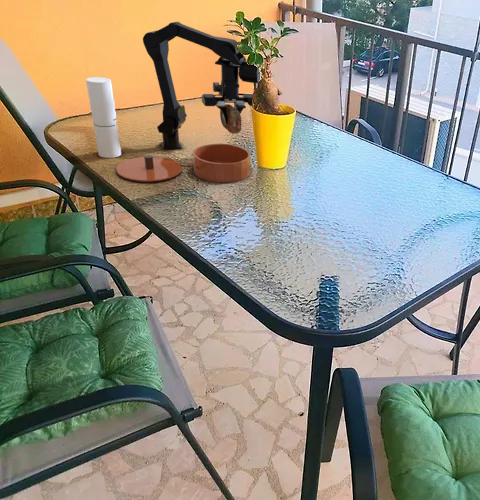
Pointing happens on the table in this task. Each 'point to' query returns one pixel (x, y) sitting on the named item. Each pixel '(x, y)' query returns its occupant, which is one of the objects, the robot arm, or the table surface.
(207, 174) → the pot
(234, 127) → the tin
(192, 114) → the table surface
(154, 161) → the lid
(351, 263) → the table surface
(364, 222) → the table surface
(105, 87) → the cylindrical container
